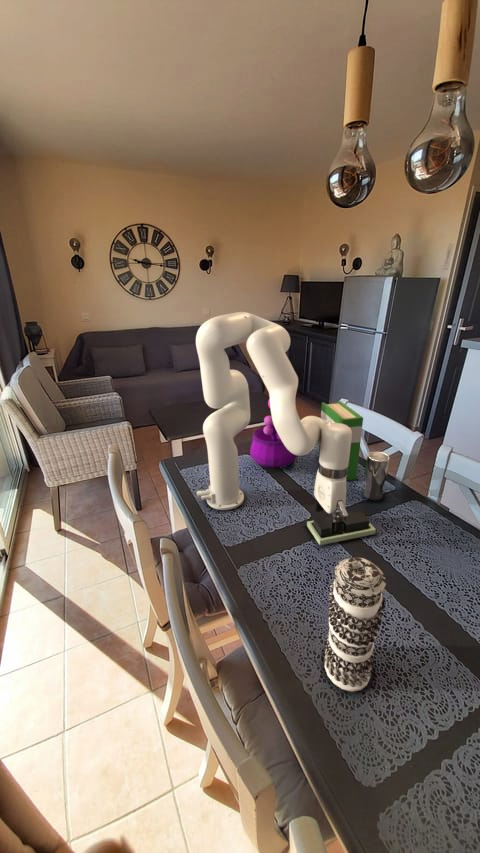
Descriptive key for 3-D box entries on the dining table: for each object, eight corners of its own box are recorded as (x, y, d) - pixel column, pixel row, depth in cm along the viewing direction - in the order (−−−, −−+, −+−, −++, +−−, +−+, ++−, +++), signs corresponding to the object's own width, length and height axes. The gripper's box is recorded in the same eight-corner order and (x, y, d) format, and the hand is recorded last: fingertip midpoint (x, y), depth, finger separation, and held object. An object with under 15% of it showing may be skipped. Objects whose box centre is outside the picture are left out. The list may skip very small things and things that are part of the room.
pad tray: (319, 546, 99) (320, 540, 99) (306, 527, 107) (307, 521, 106) (375, 535, 103) (375, 529, 102) (358, 516, 111) (359, 511, 110)
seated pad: (346, 534, 103) (347, 524, 101) (337, 523, 107) (338, 514, 106) (368, 530, 104) (369, 520, 103) (359, 519, 109) (360, 510, 107)
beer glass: (385, 502, 117) (392, 462, 111) (363, 500, 118) (368, 460, 112) (382, 491, 123) (388, 452, 117) (361, 489, 124) (365, 450, 118)
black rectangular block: (320, 539, 101) (321, 529, 100) (312, 528, 106) (313, 518, 104) (343, 535, 103) (344, 525, 101) (334, 524, 107) (335, 514, 106)
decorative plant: (245, 454, 151) (243, 385, 139) (287, 448, 155) (288, 380, 143) (258, 477, 134) (257, 400, 122) (304, 469, 138) (308, 395, 126)
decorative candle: (340, 636, 75) (351, 541, 65) (381, 669, 69) (401, 569, 59) (312, 665, 70) (320, 566, 60) (354, 705, 63) (371, 601, 53)
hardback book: (318, 458, 145) (321, 402, 136) (335, 456, 146) (340, 400, 137) (337, 481, 129) (342, 419, 120) (356, 479, 130) (363, 417, 121)
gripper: (306, 455, 103) (303, 505, 110) (335, 488, 87) (329, 543, 94) (330, 452, 104) (326, 501, 111) (363, 483, 89) (355, 538, 96)
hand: (327, 520), depth 103 cm, fingers open, 9 cm apart
